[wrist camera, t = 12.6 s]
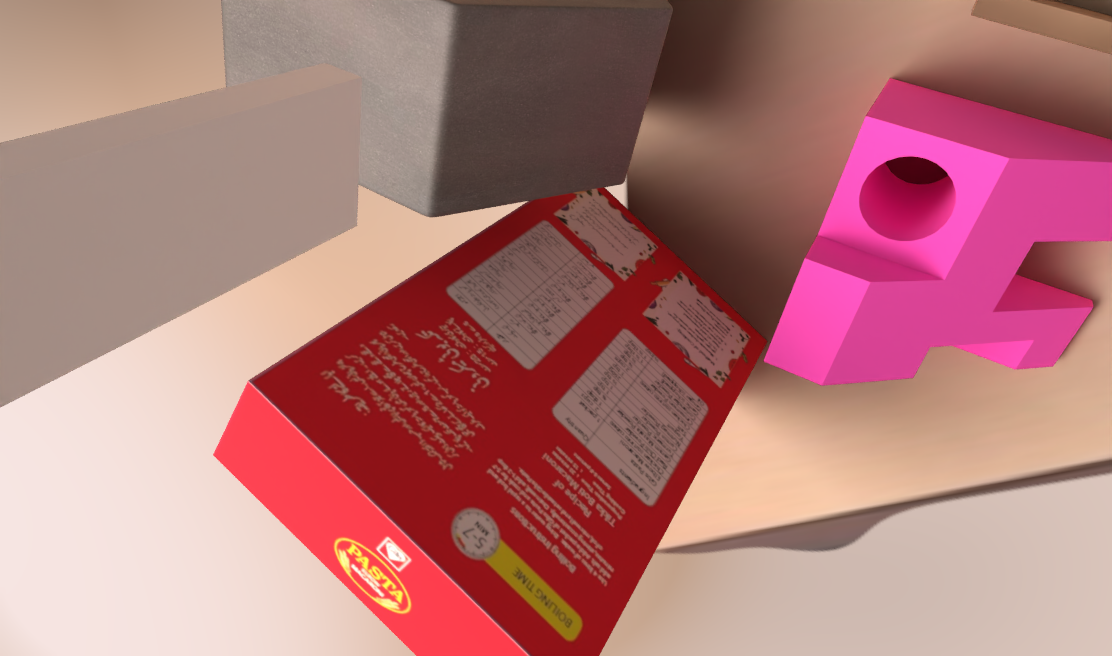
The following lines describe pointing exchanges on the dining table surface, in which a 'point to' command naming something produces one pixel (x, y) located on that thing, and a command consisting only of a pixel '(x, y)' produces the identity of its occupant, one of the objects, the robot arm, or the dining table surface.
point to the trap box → (1051, 20)
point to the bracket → (944, 242)
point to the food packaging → (501, 430)
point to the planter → (470, 88)
